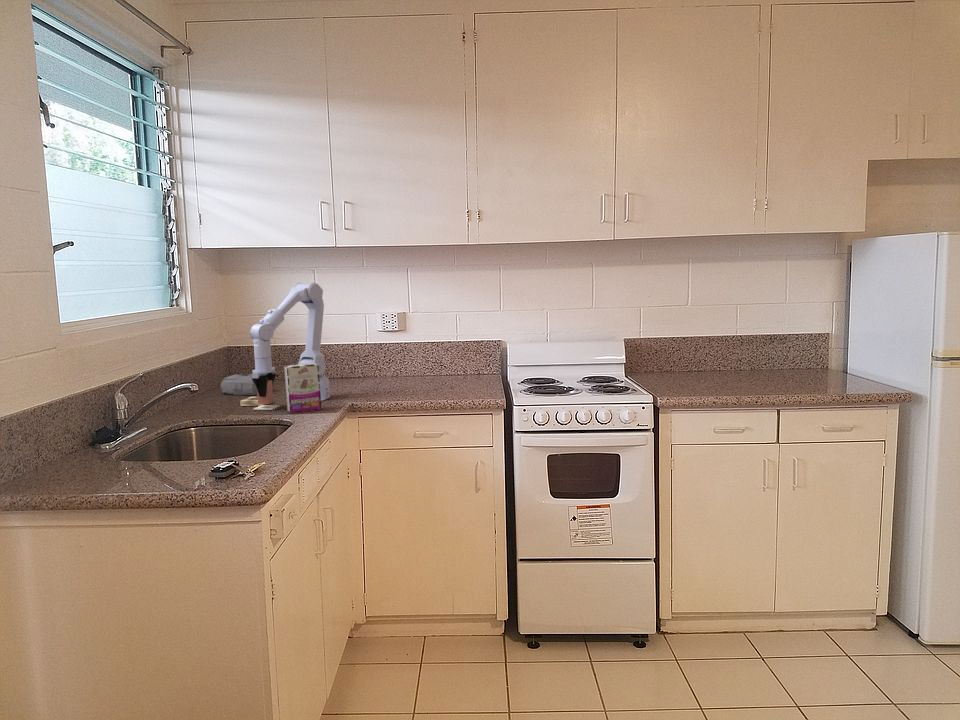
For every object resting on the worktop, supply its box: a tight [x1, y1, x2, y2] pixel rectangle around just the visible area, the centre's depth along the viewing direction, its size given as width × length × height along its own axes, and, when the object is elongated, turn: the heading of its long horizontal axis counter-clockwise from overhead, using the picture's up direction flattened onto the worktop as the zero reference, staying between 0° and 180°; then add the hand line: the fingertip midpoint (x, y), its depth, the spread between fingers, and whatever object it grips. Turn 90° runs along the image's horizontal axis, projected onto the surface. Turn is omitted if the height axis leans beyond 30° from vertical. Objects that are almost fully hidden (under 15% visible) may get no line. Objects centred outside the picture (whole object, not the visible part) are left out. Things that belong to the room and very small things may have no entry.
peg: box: [256, 380, 274, 405], centre depth 258 cm, size 4×4×8 cm
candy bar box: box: [283, 363, 322, 414], centre depth 252 cm, size 11×5×16 cm, turn 117°
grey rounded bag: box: [219, 372, 258, 396], centre depth 294 cm, size 15×8×20 cm
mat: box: [252, 404, 280, 411], centre depth 258 cm, size 7×6×1 cm
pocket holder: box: [239, 396, 267, 407], centre depth 267 cm, size 8×8×2 cm
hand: (265, 395), depth 258 cm, fingers closed on peg, 4 cm apart
